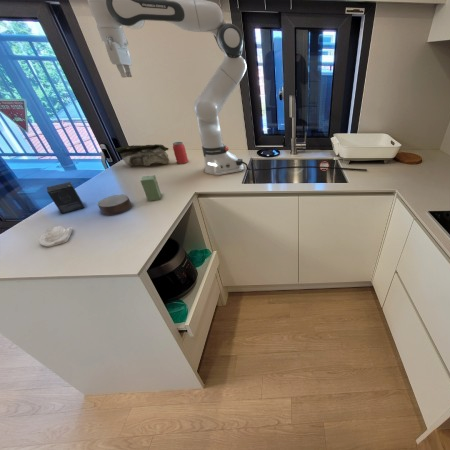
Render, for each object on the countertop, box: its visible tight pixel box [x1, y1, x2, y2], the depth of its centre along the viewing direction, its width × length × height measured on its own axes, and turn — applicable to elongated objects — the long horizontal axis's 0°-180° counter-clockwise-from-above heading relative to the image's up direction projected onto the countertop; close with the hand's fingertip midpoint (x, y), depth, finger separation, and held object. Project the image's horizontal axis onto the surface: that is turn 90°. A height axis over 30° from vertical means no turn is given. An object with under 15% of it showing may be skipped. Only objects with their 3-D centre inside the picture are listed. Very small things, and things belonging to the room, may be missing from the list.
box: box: [46, 181, 85, 214], centre depth 101 cm, size 8×6×11 cm
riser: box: [97, 194, 133, 216], centre depth 103 cm, size 11×11×4 cm
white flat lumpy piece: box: [38, 225, 73, 248], centre depth 85 cm, size 10×4×10 cm
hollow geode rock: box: [114, 144, 170, 167], centre depth 145 cm, size 28×13×15 cm
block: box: [140, 174, 163, 202], centre depth 110 cm, size 5×5×10 cm
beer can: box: [172, 141, 189, 165], centre depth 150 cm, size 7×7×12 cm
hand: (127, 77), depth 108 cm, fingers open, 8 cm apart
